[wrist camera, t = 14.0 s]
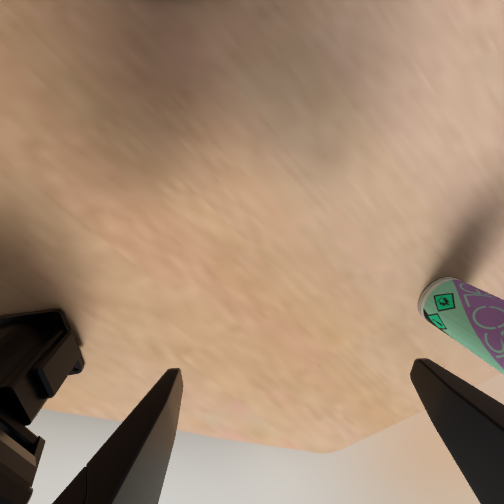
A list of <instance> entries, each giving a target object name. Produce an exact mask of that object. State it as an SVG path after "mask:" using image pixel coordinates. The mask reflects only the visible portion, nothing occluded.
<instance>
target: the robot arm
mask: <svg viewBox="0 0 504 504" xmlns="http://www.w3.org/2000/svg"><path fill="white" fill-rule="evenodd" d="M54 314H56V315H57V316H58V317H56V316H54ZM76 367H77V368H76ZM83 368H84V363H83V361H82V358H81V353H80V351H79V348H78V346H77V343H76V340H75V338H74V335H73V333H72V332H71V330H70V327H69V325H68V322H67V320H66V317H65V315H64V312H63V311H62V310H60V309H49V310H42V311H34V312H27V313H19V314H12V315H4V316H0V504H28V502H29V500H30V498H31V495H32V492H33V488H31V487H32V484H33V480H34V477H35V474H36V471H37V468H38V464H39V461H40V457H41V454H42V450H43V448H44V444H45V440H44V439H43V438H41V437H40V436H38V437H37V436H36V435H35V434H33V433H32V432H31V431H30V430H29V429H28V428H26V427H25V426H26V425H30V424H31V422H32V421H33V419H34V418H35V417H36V415H37V414H38V412H39V411H40V409H41V408H42V406H43V405H44V403H45V402H46V400H47V399H48V398H52V397H53V396H54V395H55V394H56V392H57V391H58V389H59V388H60V386H61V385H62V383H63V382H64V380H65V379H66V377H67V376H68V375H73V374H78V373H80V372H81V371H82V370H83ZM410 377H411V381H412V383H413V385H414V387H415V389H416V391H417V393H418V395H419V397H420V399H421V401H422V403H423V405H424V407H425V409H426V411H427V413H428V415H429V417H430V419H431V421H432V423H433V425H434V426H435V428H436V430H437V432H438V433H439V435H440V436H441V438H442V440H443V441H444V443H445V445H446V447H447V448H448V450H449V451H450V453H451V455H452V457H453V458H454V460H455V462H456V463H457V465H458V466H459V468H460V470H461V472H462V473H463V475H464V476H465V478H466V480H467V482H468V483H469V485H470V487H471V488H472V490H473V491H474V493H475V495H476V496H477V498H478V500H479V502H480V503H481V504H504V405H503V404H501V403H500V402H498V401H497V400H495V399H493V398H492V397H490V396H488V395H487V394H485V393H483V392H482V391H480V390H478V389H477V388H475V387H474V386H472V385H470V384H469V383H467V382H466V381H464V380H462V379H461V378H459V377H457V376H456V375H454V374H452V373H451V372H449V371H448V370H446V369H444V368H443V367H441V366H439V365H438V364H436V363H435V362H433V361H431V360H429V359H427V358H419V359H416V360H415V361H414V364H413V367H412V370H411V373H410ZM182 392H183V381H182V375H181V370H180V369H179V368H170V369H168V370H167V371H166V372H165V373H164V375H163V376H162V377H161V378H160V379H159V380H158V382H157V383H156V384H155V385H154V386H153V387H152V389H151V390H150V391H149V392H148V393H147V394H146V396H145V397H144V398H143V399H142V400H141V401H140V403H139V404H138V405H137V406H136V407H135V408H134V410H133V411H132V412H131V413H130V414H129V415H128V417H127V418H126V419H125V420H124V421H123V422H122V424H121V425H120V426H119V427H118V428H117V430H116V431H115V432H114V433H113V434H112V435H111V436H110V438H109V439H108V440H107V441H106V443H104V445H103V446H102V447H101V448H100V449H99V451H98V452H97V453H96V454H95V455H94V456H93V458H92V459H91V460H90V461H89V462H88V463H87V467H84V468H83V469H82V470H81V471H80V472H79V474H78V475H77V476H76V477H75V478H74V479H73V481H72V482H71V483H70V484H69V485H68V486H67V487H66V489H65V490H64V491H63V492H62V493H61V494H60V495H59V497H58V498H57V499H56V500H55V501H54V502H53V503H52V504H158V501H159V497H160V494H161V490H162V486H163V482H164V478H165V475H166V471H167V467H168V463H169V459H170V455H171V451H172V448H173V444H174V440H175V435H176V429H177V423H178V417H179V411H180V405H181V398H182Z"/></svg>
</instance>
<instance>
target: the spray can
mask: <svg viewBox="0 0 504 504" xmlns="http://www.w3.org/2000/svg"><path fill="white" fill-rule="evenodd" d="M418 310H419V313H420V315H421V316H422V317H423V318H425V319H426V320H427V321H429V322H430V323H431V324H433V325H434V326H436V327H437V328H439V329H440V330H441V331H443V332H444V333H446V334H447V335H449V336H450V337H451V338H453V339H454V340H456V341H457V342H458V343H460V344H461V345H463V346H464V347H466V348H467V349H468V350H470V351H471V352H473V353H474V354H475V355H477V356H478V357H480V358H481V359H483V360H484V361H485V362H487V363H488V364H490V365H491V366H493V367H494V368H495V369H497V370H498V371H500V372H501V373H502V374H504V300H502V299H500V298H498V297H496V296H494V295H491V294H489V293H487V292H485V291H483V290H480V289H478V288H476V287H474V286H472V285H469V284H467V283H465V282H463V281H461V280H458V279H455V278H453V277H444V278H441V279H438V280H436V281H434V282H433V283H432V284H430V285H429V286H428V287H427V288H426V289H425V290H424V292H423V293H422V295H421V297H420V299H419V303H418Z"/></svg>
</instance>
